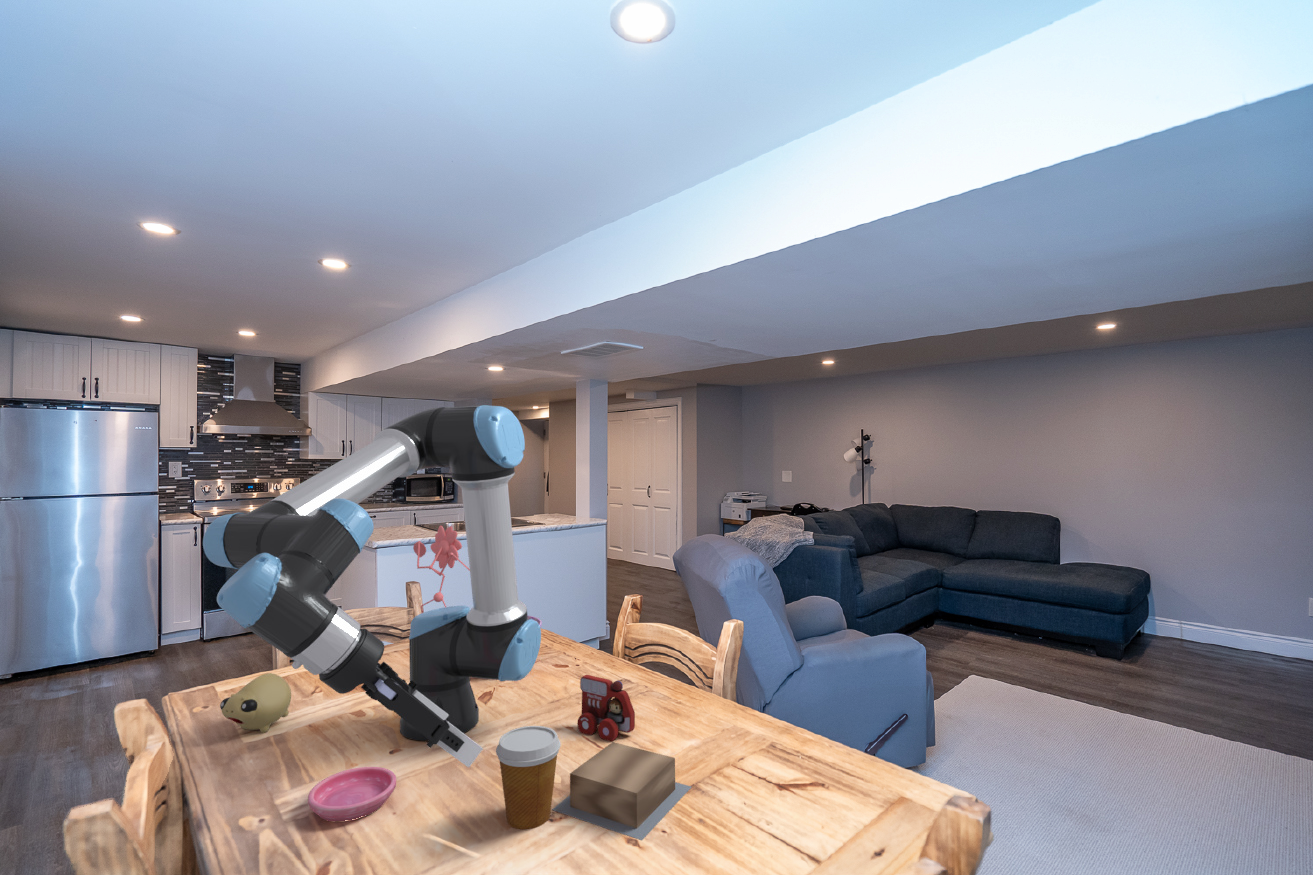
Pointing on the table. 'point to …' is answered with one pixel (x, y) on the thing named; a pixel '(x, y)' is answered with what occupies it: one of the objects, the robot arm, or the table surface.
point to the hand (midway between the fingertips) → (457, 738)
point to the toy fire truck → (605, 708)
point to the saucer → (352, 793)
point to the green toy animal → (259, 703)
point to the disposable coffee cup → (528, 774)
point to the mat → (622, 828)
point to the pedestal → (622, 784)
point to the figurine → (441, 554)
